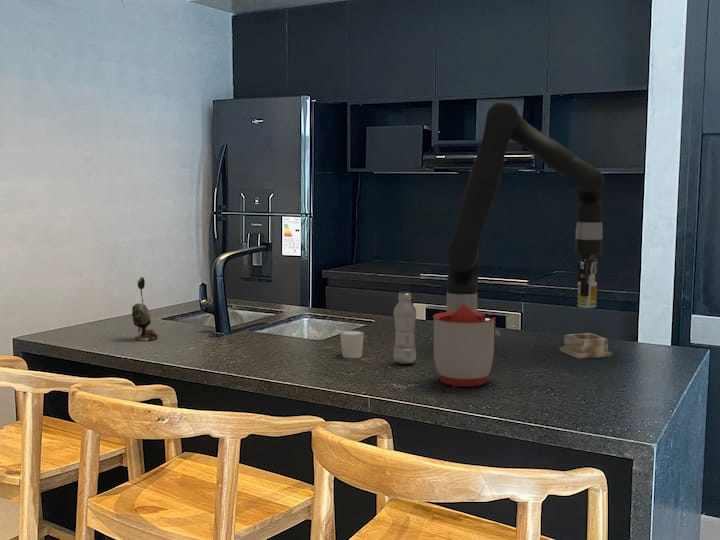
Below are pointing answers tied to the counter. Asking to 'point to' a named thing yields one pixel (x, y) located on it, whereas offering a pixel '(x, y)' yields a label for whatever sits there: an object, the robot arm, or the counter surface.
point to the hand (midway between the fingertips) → (587, 294)
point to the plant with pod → (142, 318)
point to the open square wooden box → (585, 345)
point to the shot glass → (352, 344)
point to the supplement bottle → (591, 298)
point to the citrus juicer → (463, 347)
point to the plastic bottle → (404, 329)
